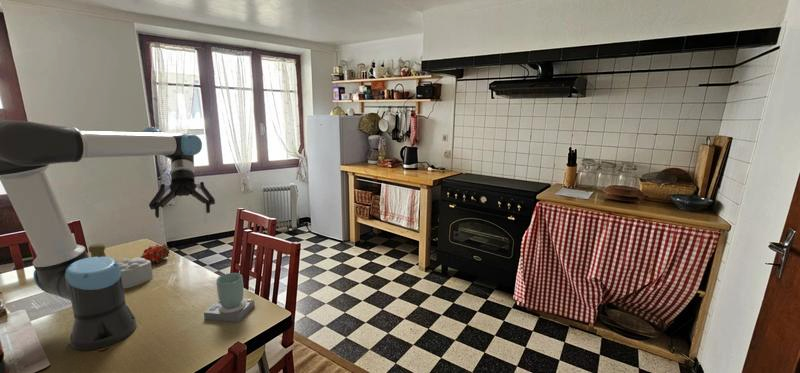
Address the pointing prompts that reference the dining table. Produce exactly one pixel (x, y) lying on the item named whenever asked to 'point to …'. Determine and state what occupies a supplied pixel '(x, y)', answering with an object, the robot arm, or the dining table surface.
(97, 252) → the cork
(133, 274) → the white bumpy block
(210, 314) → the soap dish with soap
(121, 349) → the dining table surface
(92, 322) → the robot arm
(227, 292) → the cup
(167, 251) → the dragon fruit
